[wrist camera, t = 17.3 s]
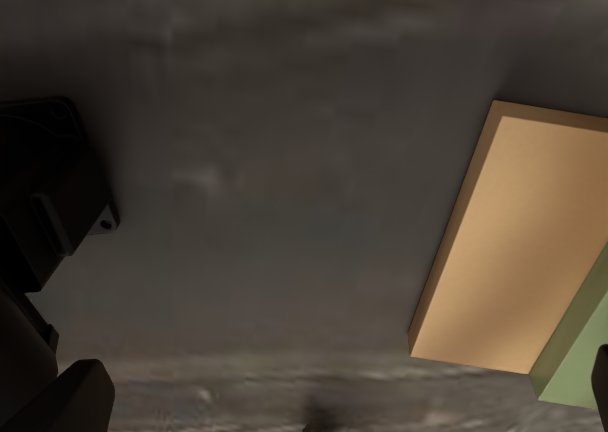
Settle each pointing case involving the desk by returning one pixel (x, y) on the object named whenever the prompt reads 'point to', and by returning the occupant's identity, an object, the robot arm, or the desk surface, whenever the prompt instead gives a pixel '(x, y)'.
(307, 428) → the rhino figurine
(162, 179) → the desk surface
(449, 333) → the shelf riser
